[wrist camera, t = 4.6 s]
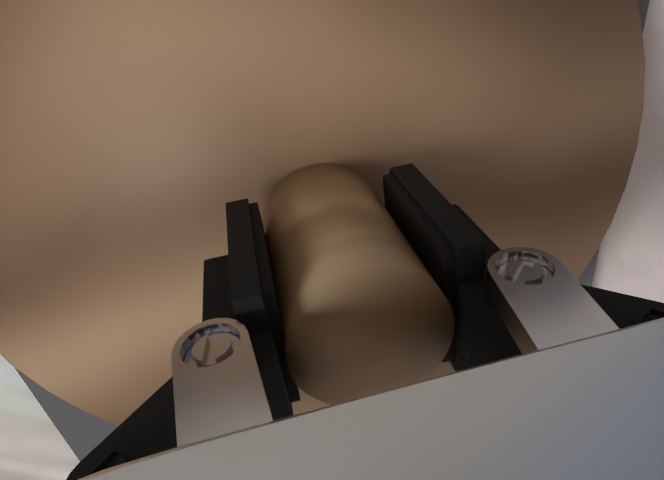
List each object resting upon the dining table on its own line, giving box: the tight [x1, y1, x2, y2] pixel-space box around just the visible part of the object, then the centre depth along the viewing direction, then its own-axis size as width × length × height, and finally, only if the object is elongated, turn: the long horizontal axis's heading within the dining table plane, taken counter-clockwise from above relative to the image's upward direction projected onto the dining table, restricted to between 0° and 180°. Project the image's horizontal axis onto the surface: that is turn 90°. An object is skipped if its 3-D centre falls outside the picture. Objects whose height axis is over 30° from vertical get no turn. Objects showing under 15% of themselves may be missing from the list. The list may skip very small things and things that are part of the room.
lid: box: [0, 0, 645, 426], centre depth 11 cm, size 19×19×6 cm
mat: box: [15, 0, 649, 461], centre depth 14 cm, size 20×20×1 cm
